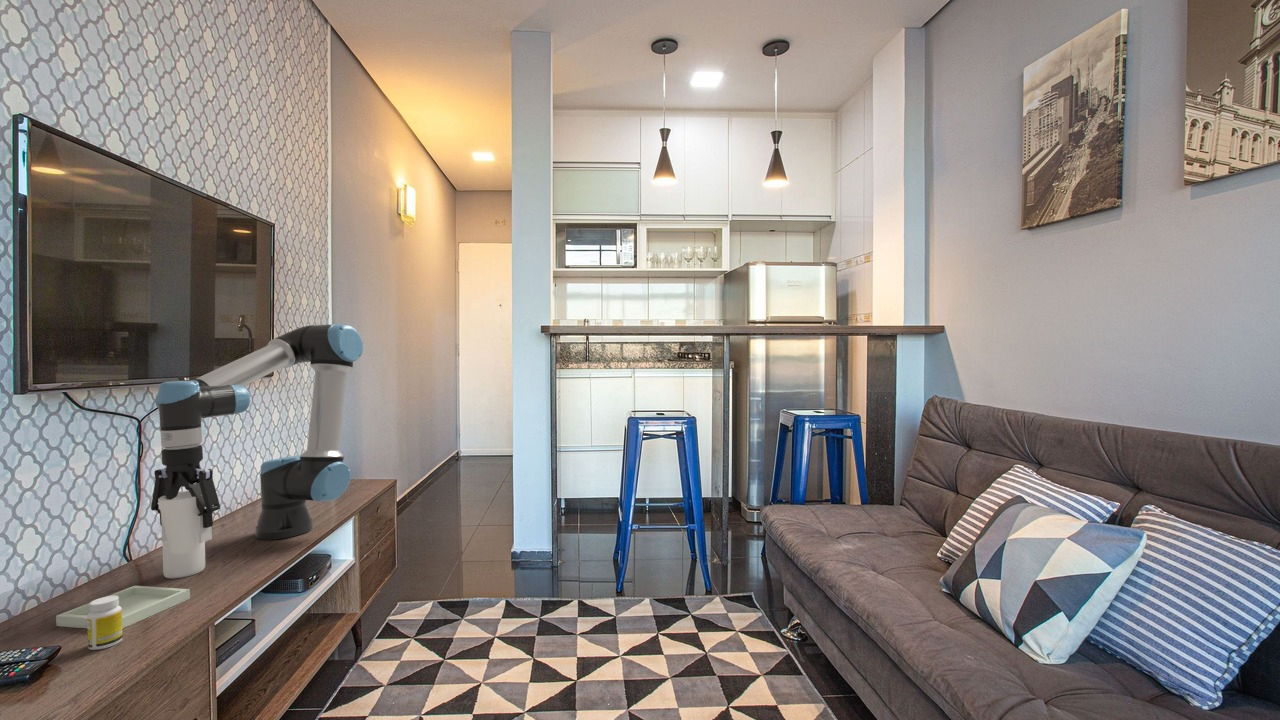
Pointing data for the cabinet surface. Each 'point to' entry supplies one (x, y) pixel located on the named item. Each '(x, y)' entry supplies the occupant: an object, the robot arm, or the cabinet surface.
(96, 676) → the cabinet surface
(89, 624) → the supplement bottle
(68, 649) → the cabinet surface
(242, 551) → the cabinet surface
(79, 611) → the tray
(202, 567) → the white oval container
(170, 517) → the foam cup
